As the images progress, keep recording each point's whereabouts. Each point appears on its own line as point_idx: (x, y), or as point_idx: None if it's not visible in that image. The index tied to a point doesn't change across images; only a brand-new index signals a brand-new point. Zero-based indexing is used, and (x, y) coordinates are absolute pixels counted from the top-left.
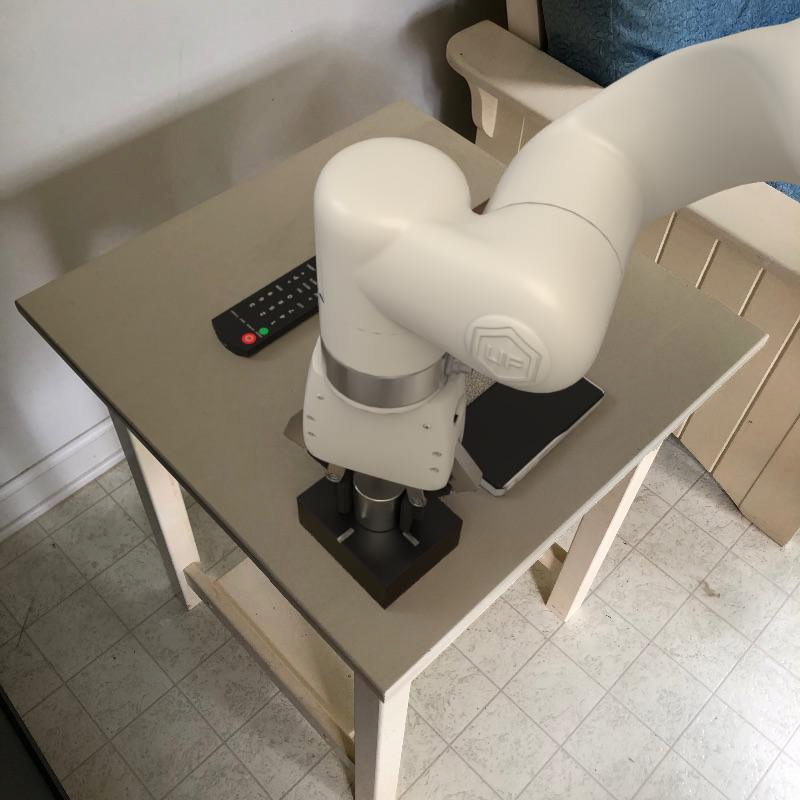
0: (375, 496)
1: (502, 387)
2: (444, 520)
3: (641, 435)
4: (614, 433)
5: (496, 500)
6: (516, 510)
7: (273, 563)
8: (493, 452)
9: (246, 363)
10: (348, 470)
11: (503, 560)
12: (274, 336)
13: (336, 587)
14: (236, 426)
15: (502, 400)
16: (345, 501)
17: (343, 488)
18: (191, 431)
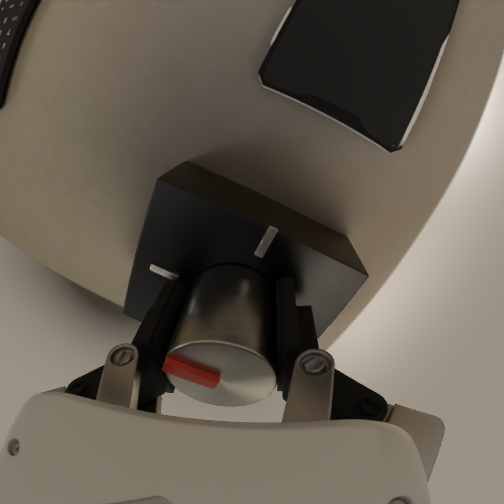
0: (229, 402)
1: None
2: (340, 285)
3: (500, 35)
4: (480, 30)
5: (385, 153)
6: (412, 162)
7: None
8: (370, 82)
9: (5, 113)
10: (159, 390)
11: (402, 238)
12: (6, 70)
13: None
14: (32, 190)
15: None
16: None
17: (172, 391)
18: (15, 217)
